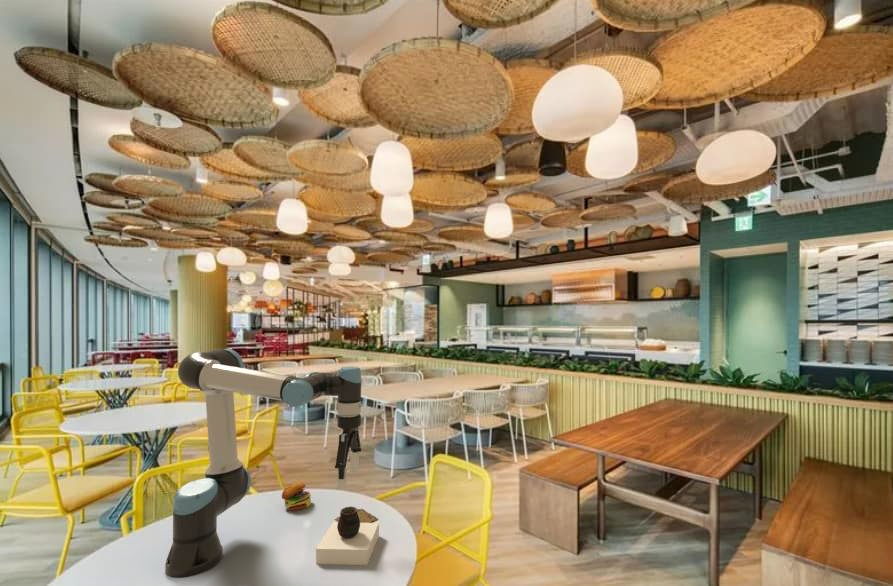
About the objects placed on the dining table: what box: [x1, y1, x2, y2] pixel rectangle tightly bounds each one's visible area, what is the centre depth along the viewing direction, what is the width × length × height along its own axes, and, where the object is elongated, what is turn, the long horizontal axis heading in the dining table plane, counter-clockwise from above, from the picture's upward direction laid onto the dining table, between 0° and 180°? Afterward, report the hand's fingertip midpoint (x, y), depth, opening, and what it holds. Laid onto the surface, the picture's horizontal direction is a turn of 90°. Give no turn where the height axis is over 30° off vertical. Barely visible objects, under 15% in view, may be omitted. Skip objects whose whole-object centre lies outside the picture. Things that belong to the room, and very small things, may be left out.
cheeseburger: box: [281, 482, 312, 511], centre depth 164 cm, size 10×11×10 cm
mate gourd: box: [337, 506, 360, 538], centre depth 134 cm, size 7×8×10 cm
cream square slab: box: [315, 521, 380, 566], centre depth 134 cm, size 16×16×5 cm
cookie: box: [334, 508, 379, 523], centre depth 153 cm, size 12×12×1 cm
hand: (348, 479), depth 135 cm, fingers open, 13 cm apart
